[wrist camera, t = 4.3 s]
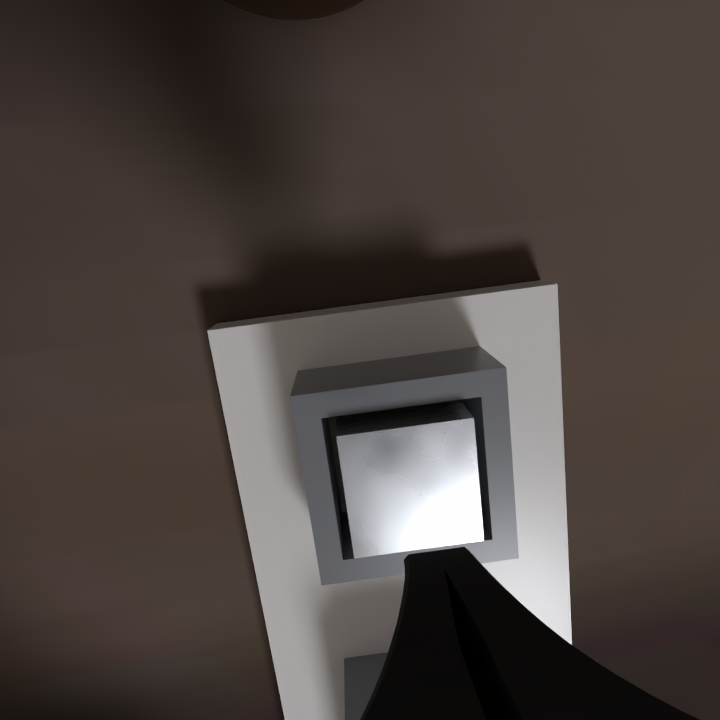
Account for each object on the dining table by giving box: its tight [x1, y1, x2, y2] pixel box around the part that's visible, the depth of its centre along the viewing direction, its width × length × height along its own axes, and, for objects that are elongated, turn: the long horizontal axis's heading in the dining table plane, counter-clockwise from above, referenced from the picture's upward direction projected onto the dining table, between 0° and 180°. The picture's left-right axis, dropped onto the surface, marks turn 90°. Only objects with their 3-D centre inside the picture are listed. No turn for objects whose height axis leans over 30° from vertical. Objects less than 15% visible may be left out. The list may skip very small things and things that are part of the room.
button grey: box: [336, 400, 484, 558], centre depth 18 cm, size 4×4×4 cm
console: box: [207, 280, 572, 720], centre depth 20 cm, size 22×12×4 cm, turn 7°
